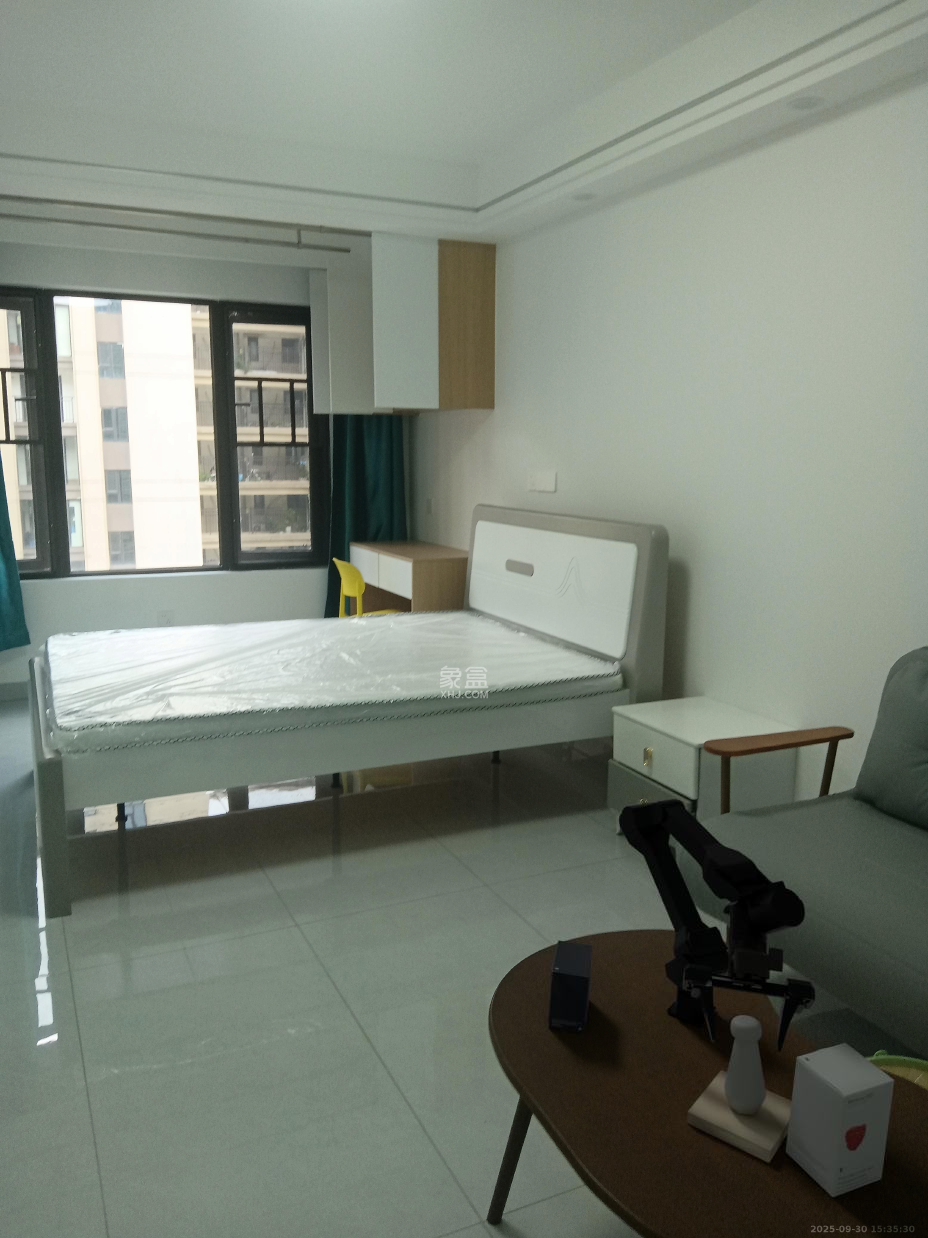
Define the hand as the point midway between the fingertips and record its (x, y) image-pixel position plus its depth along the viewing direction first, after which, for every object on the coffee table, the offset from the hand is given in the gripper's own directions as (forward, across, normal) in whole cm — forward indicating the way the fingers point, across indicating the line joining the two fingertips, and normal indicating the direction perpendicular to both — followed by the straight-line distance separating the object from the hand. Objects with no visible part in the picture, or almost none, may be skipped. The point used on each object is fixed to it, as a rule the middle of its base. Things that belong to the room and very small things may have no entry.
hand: (745, 1047), depth 138 cm
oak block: (+9, 0, +5) cm, 11 cm away
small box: (-4, -27, +18) cm, 33 cm away
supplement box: (+13, +12, 0) cm, 18 cm away
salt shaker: (+8, 0, +4) cm, 8 cm away
